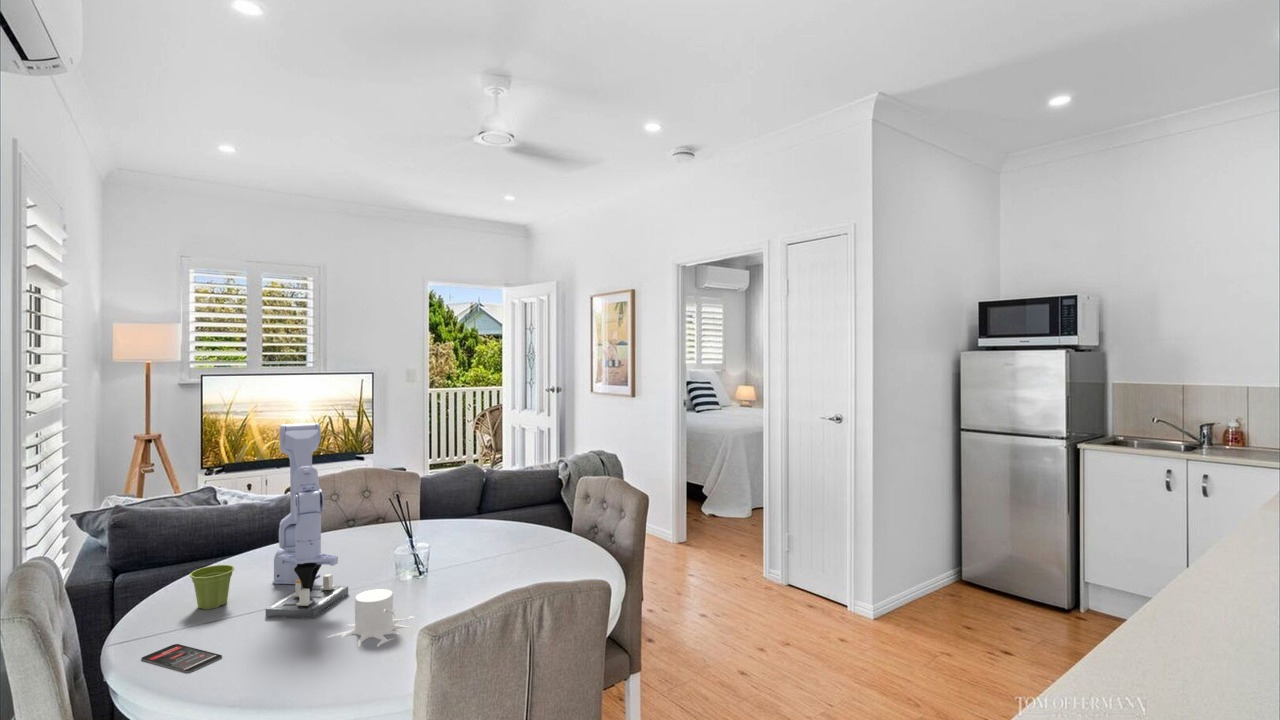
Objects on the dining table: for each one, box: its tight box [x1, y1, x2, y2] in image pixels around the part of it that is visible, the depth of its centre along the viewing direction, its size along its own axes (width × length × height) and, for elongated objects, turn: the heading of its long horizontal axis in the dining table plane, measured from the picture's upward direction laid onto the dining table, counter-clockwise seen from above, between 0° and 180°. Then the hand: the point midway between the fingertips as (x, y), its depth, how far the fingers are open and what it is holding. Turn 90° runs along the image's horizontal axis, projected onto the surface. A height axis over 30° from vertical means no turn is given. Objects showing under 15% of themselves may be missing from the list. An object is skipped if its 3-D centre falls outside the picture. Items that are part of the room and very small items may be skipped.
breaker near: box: [296, 589, 313, 606], centre depth 156 cm, size 3×2×3 cm
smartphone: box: [140, 643, 223, 674], centre depth 133 cm, size 7×1×15 cm
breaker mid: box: [292, 579, 303, 597], centre depth 161 cm, size 3×2×4 cm
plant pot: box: [189, 564, 235, 610], centre depth 161 cm, size 9×9×9 cm
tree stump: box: [327, 588, 416, 647], centre depth 148 cm, size 20×19×8 cm
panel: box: [265, 584, 349, 619], centre depth 161 cm, size 12×16×2 cm
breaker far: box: [320, 573, 336, 590], centre depth 166 cm, size 3×2×3 cm
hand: (308, 592), depth 161 cm, fingers closed
